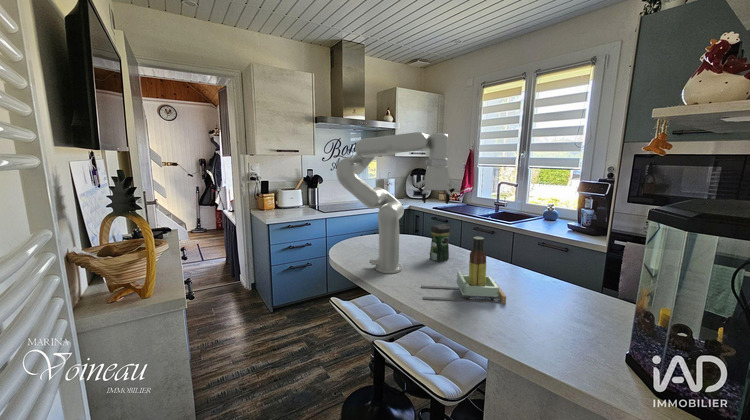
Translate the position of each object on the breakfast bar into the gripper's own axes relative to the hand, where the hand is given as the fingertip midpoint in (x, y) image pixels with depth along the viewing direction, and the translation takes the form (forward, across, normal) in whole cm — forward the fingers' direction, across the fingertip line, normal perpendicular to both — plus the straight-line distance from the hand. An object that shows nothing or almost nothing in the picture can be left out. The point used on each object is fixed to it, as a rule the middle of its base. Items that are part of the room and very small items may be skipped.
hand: (435, 202), depth 131 cm
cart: (+33, +15, -19) cm, 41 cm away
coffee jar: (+33, +6, +21) cm, 40 cm away
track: (+33, +9, -19) cm, 39 cm away
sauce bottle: (+30, +15, -19) cm, 38 cm away
